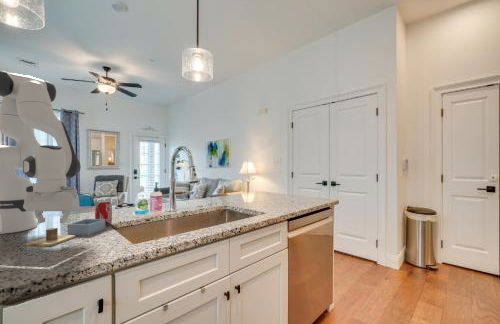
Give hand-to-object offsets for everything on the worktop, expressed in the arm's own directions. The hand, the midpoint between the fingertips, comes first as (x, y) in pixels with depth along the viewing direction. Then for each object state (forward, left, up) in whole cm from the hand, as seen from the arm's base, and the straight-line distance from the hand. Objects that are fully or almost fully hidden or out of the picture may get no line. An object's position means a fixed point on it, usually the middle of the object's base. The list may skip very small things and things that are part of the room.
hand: (52, 222), depth 89 cm
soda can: (+1, +25, -8) cm, 27 cm away
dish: (+3, +13, -8) cm, 15 cm away
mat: (-1, 0, -8) cm, 8 cm away
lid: (-1, 0, -7) cm, 7 cm away
